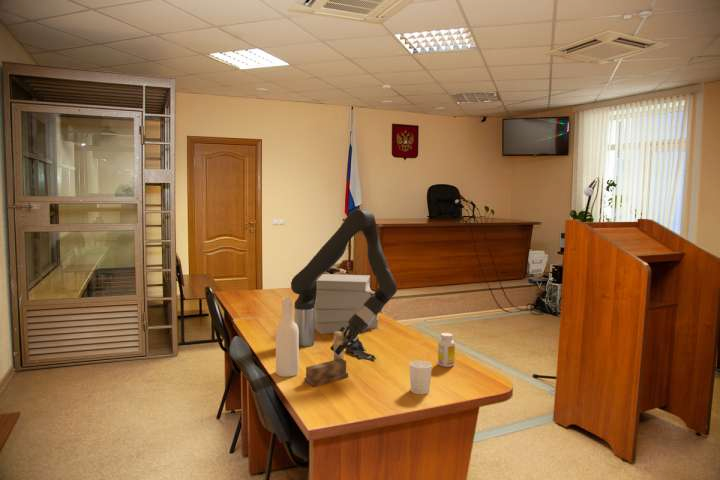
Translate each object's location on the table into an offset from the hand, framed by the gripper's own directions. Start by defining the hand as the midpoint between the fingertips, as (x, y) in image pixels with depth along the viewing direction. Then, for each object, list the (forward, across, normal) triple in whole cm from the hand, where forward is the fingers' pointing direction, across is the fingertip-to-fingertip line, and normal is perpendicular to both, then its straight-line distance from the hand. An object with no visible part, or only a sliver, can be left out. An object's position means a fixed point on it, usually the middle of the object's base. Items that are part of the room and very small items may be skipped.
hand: (334, 351), depth 198 cm
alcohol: (+18, -3, -8) cm, 20 cm away
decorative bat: (-7, -17, +18) cm, 26 cm away
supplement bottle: (-26, +13, +37) cm, 47 cm away
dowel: (+3, 0, +6) cm, 7 cm away
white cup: (-9, +32, +20) cm, 39 cm away
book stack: (-14, -58, +26) cm, 65 cm away
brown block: (+10, +8, +1) cm, 13 cm away
